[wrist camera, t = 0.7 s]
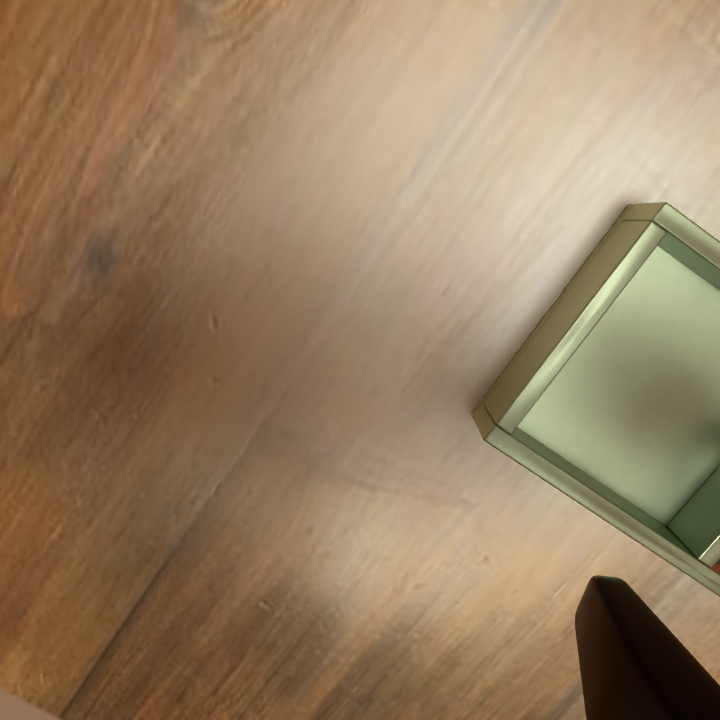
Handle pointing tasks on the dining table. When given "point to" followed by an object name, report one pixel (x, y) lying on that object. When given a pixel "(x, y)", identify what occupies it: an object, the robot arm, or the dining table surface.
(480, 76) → the dining table surface
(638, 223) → the tray
